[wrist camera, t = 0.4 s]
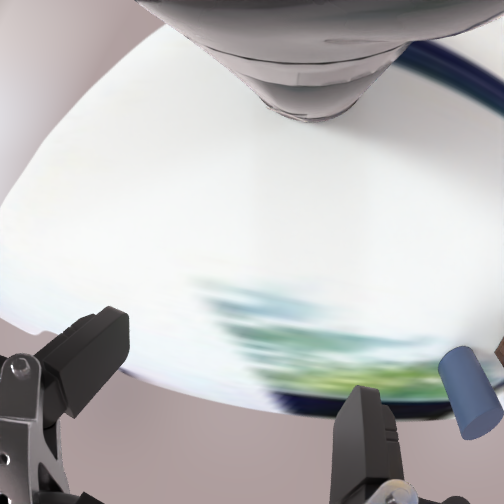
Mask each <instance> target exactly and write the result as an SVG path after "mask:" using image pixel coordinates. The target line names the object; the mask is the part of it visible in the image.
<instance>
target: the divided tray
mask: <svg viewBox="0 0 504 504" xmlns="http://www.w3.org/2000/svg"><path fill="white" fill-rule="evenodd" d="M495 354H496V356H497V358H498V359H499V361H500V362H501V364H502V366H503V367H504V337H503V339H502V341H501V343H500V344H499V346H498V348H497V349H496V351H495Z"/></svg>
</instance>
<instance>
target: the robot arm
mask: <svg viewBox="0 0 504 504" xmlns="http://www.w3.org/2000/svg"><path fill="white" fill-rule="evenodd" d="M135 1H136V2H137V3H138V4H140V5H141V6H143V7H144V8H145V9H146V10H148V11H149V12H151V13H152V14H153V15H155V16H156V17H158V18H159V19H161V20H162V21H164V22H165V23H166V24H168V25H169V26H171V27H172V28H174V29H175V30H177V31H178V32H180V33H181V34H183V35H184V36H185V37H187V38H188V39H189V40H191V41H192V42H194V43H195V44H196V45H198V46H199V47H200V48H201V49H203V50H204V51H205V52H207V53H208V54H209V55H211V56H212V57H213V58H214V59H216V60H217V61H218V62H220V63H221V64H222V65H223V66H225V67H226V68H227V69H228V70H229V71H231V72H232V73H233V74H234V75H235V76H237V77H238V78H239V79H240V80H241V81H242V82H244V83H245V84H246V85H247V86H248V87H249V88H250V89H252V90H253V91H254V92H255V93H256V94H257V95H258V96H259V97H260V98H261V100H262V101H263V102H264V103H265V104H266V105H267V106H269V107H270V108H268V107H266V108H268V109H270V110H273V111H275V112H277V113H279V114H280V115H282V116H285V117H287V118H290V119H293V120H297V121H302V122H320V121H326V120H329V119H332V118H335V117H337V116H339V115H341V114H343V113H344V112H346V111H347V110H348V109H350V108H351V107H352V106H353V105H354V104H355V103H356V101H357V100H358V99H359V97H360V96H361V95H362V94H363V93H364V92H365V91H366V90H367V89H368V88H369V87H370V86H371V85H372V84H373V82H374V81H375V80H376V79H377V78H378V77H379V76H380V75H381V74H382V73H383V72H384V71H385V70H386V69H387V68H388V67H389V66H390V65H391V64H392V63H393V62H394V61H395V60H396V59H397V58H398V57H399V56H400V55H401V54H402V53H403V52H404V51H405V50H406V49H407V47H408V46H409V45H410V44H411V43H412V42H413V41H423V40H433V39H440V38H445V37H450V36H455V35H458V34H461V33H464V32H467V31H470V30H473V29H476V28H478V27H481V26H483V25H485V24H488V23H490V22H492V21H494V20H497V19H499V18H501V17H503V16H504V0H135ZM129 349H130V340H129V316H128V314H127V313H125V312H122V311H120V310H117V309H115V308H113V307H111V306H108V307H106V308H104V309H103V310H102V311H101V312H99V313H98V314H97V315H95V314H91V315H88V316H85V317H82V318H80V319H79V320H77V321H76V322H75V323H73V324H72V325H71V327H68V328H67V329H66V330H65V331H63V334H62V333H61V334H60V335H58V336H57V337H56V338H55V339H53V340H52V341H51V342H50V343H48V344H47V345H46V346H45V347H44V348H42V349H41V350H40V351H39V352H37V353H36V354H35V355H33V356H32V355H30V354H25V353H20V354H15V355H13V356H11V357H9V358H7V357H4V356H1V355H0V504H104V503H102V502H101V501H99V500H97V499H95V498H94V497H92V496H90V495H89V494H87V493H85V492H83V493H82V494H81V496H80V497H79V496H76V495H72V494H70V489H69V484H68V481H67V477H66V474H65V472H64V468H63V461H62V448H61V432H60V431H61V429H60V418H59V417H60V416H61V415H62V414H63V413H66V414H67V415H69V416H70V417H72V418H74V419H75V418H76V417H77V415H78V414H79V413H80V412H81V411H82V410H83V408H84V407H85V406H86V405H87V404H88V403H89V402H90V400H91V399H92V398H93V397H94V396H95V394H96V393H97V392H98V391H99V390H100V389H101V388H102V386H103V385H104V384H105V383H106V382H107V381H108V380H109V379H110V377H111V376H112V375H113V374H114V373H115V372H116V371H117V370H118V368H119V367H120V366H121V365H122V364H123V363H124V361H125V360H126V358H127V356H128V353H129ZM396 431H397V427H396V421H395V417H394V415H393V414H392V412H391V410H390V409H389V407H388V406H387V405H381V399H380V393H379V390H378V389H375V388H370V387H365V386H359V385H357V386H355V387H354V389H353V390H352V392H351V393H350V395H349V397H348V398H347V400H346V402H345V403H344V405H343V406H342V408H341V410H340V411H339V413H338V415H337V417H336V419H335V423H334V428H333V453H332V474H331V489H330V501H329V504H470V503H469V502H468V501H467V500H466V499H465V498H463V497H460V496H452V497H449V498H448V499H446V500H445V501H443V502H442V503H437V502H433V501H430V500H426V499H422V498H420V497H418V494H417V492H416V490H415V488H414V487H413V486H412V485H411V484H409V483H408V482H406V481H405V480H404V474H403V466H402V459H401V452H400V445H399V442H398V440H399V439H398V433H397V432H396Z"/></svg>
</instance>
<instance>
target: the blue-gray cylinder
mask: <svg viewBox="0 0 504 504" xmlns="http://www.w3.org/2000/svg"><path fill="white" fill-rule="evenodd" d="M438 372H439V374H440V377H441V379H442V382H443V384H444V387H445V390H446V392H447V395H448V398H449V400H450V403H451V406H452V409H453V412H454V414H455V417H456V420H457V423H458V426H459V429H460V433H461V436H462V438H463V439H464V440H473V439H476V438H479V437H481V436H483V435H485V434H486V433H488V432H489V431H491V430H492V429H493V428H494V427H495V426H496V425H497V424H498V423H499V422H500V421H501V419H502V417H503V415H504V410H503V408H502V406H501V404H500V402H499V400H498V398H497V396H496V394H495V392H494V390H493V388H492V386H491V384H490V382H489V380H488V378H487V376H486V374H485V373H484V371H483V369H482V367H481V365H480V363H479V362H478V360H477V358H476V356H475V355H474V353H473V351H472V350H471V348H469V347H466V346H461V347H457V348H455V349H453V350H451V351H450V352H448V353H447V354H446V355H445V356H444V357H443V358H442V360H441V362H440V364H439V367H438Z"/></svg>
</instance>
